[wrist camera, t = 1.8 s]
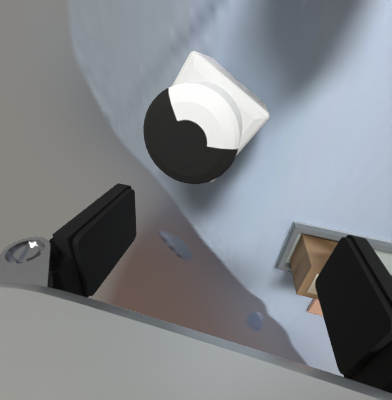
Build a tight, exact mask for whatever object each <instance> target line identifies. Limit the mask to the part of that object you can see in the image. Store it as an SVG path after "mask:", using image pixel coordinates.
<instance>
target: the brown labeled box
mask: <svg viewBox="0 0 392 400" xmlns="http://www.w3.org/2000/svg"><path fill="white" fill-rule="evenodd" d="M338 242H339V241H335V240H330V239H326V238H321V237H316V236H312V235H307V234H303V233H302V234H301V236H300V238H299V240H298V243H297V245H296V247H295V249H294V251H293V253H292V256H291V258H290V263H291V269H292V274H293V279H294V284H295V289H296V294H298V295H302V296H306V297H310V298H313V299H317V300H319V299H318V295H317V292H316V288H315V281H316V278H317V277H318V275H319V273H320V272H321V270H322V268H323V267H324V265H325V263H326V262H327V260H328V259H329V257H330V255H331V254H332V252H333V250H334V249H335V247H336V245H337V244H338Z"/></svg>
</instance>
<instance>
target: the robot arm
mask: <svg viewBox="0 0 392 400" xmlns="http://www.w3.org/2000/svg"><path fill="white" fill-rule="evenodd" d="M135 237H136V215H135V192H134V190H132V189H131V186H128V185H123V184H117V185H115V186H114V187H113V188H111V189H110V190H109V191H108V192H106V193H105V194H104V195H103V196H101V197H100V198H99V199H97V200H96V201H95V202H94V203H92V204H91V205H90V206H88V207H87V208H86V209H85V210H83V211H82V212H81V213H80V214H78V215H77V216H76V217H74V218H73V219H72V220H70V221H69V222H68V223H67V224H66V225H64V226H63V227H62V228H60V229H59V230H58V231H56V232H55V233H54V234H53V238H52V239H50V240H49V241H48V240H47V239H45V238H42V237H29V238H25V239H21V240H19V241H17V242H14V243H12V244H11V245H9V246H7V247H6V248H5V249H4V250H3V251H2V252H1V254H0V400H392V276H391V274H390V273H389V271H388V270H387V269H386V267H385V266H384V264H383V263H382V261H381V260H380V258H379V257H378V255H377V254H376V252H375V251H374V249H373V248H372V246H371V245H370V243H369V242H368V241H367V239H366V238H362V237H358V236H353V235H347V236H346V237H342V238H341V239H340V240H339V242H338V244H337V245H336V247H335V249H334V250H333V252H332V254H331V255H330V257H329V259H328V260H327V262H326V263H325V265H324V267H323V268H322V270H321V272H320V273H319V275H318V277H317V278H316V281H315V288H316V292H317V295H318V299H319V302H320V306H321V309H322V313H323V317H324V320H325V324H326V327H327V331H328V334H329V338H330V341H331V345H332V349H333V352H334V356H335V359H336V363H337V366H338V369H339V371H340V373H341V374H344V377H341V376H338V375H335V374H332V373H329V372H326V371H322V370H319V369H316V368H313V367H310V366H307V365H303V364H300V363H297V362H294V361H291V360H288V359H285V358H281V357H278V356H275V355H272V354H269V353H266V352H262V351H259V350H256V349H253V348H250V347H247V346H243V345H240V344H237V343H233V342H231V341H227V340H224V339H221V338H218V337H214V336H211V335H208V334H205V333H202V332H198V331H195V330H192V329H189V328H186V327H182V326H179V325H176V324H173V323H169V322H166V321H163V320H160V319H156V318H153V317H150V316H147V315H143V314H140V313H137V312H134V311H130V310H127V309H124V308H120V307H117V306H114V305H110V304H107V303H104V302H101V301H97V300H93V299H90V298H88V297H89V296H92V295H94V293H95V292H96V291H97V290H98V288H99V287H100V285H101V284H102V283H103V281H104V280H105V279H106V277H107V276H108V275H109V273H110V272H111V270H112V269H113V268H114V266H115V265H116V264H117V262H118V261H119V260H120V258H121V257H122V256H123V254H124V253H125V252H126V250H127V249H128V247H129V246H130V245H131V244H132V242H133V241H134V239H135Z"/></svg>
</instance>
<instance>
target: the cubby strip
mask: <svg viewBox="0 0 392 400" xmlns="http://www.w3.org/2000/svg"><path fill="white" fill-rule="evenodd" d="M302 233H303V234H307V235H312V236H316V237H321V238H326V239H330V240H335V241H339V240H340V239H341V238H342V237H346V236H347V235H353V236H358V237H362V238H366V239H367V241H368V242H369V243H370V245H371V246H372V248H373V249H374V251H375V252H376V254H377V255H378V257H379V258H380V260H381V261H382V263H383V264H384V266H385V267H386V269H387V270H388V271H389V273H390V274H391V276H392V242H390V241H386V240H381V239H376V238H371V237H367V236H362V235H357V234H352V233H348V232H343V231H338V230H333V229H329V228H324V227H319V226H315V225H310V224H305V223H300V222H296V221H294V222H293V225H292V227H291V229H290V232H289V234H288V237H287V239H286V241H285V244H284V246H283V248H282V251H281V253H280V256H279V258H278V260H277V269H280V270H284V271H288V272H292V269H291V263H290V258H291V256H292V253H293V251H294V249H295V247H296V245H297V243H298V240H299V238H300V236H301V234H302Z"/></svg>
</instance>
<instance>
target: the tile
mask: <svg viewBox="0 0 392 400" xmlns="http://www.w3.org/2000/svg"><path fill="white" fill-rule="evenodd" d="M308 312H309V313H313V314H317V315H320V316H323V313H322V309H321V306H320V302H319V300H317V299H313V301H312V302H311V304H310V306H309V307H308Z"/></svg>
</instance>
